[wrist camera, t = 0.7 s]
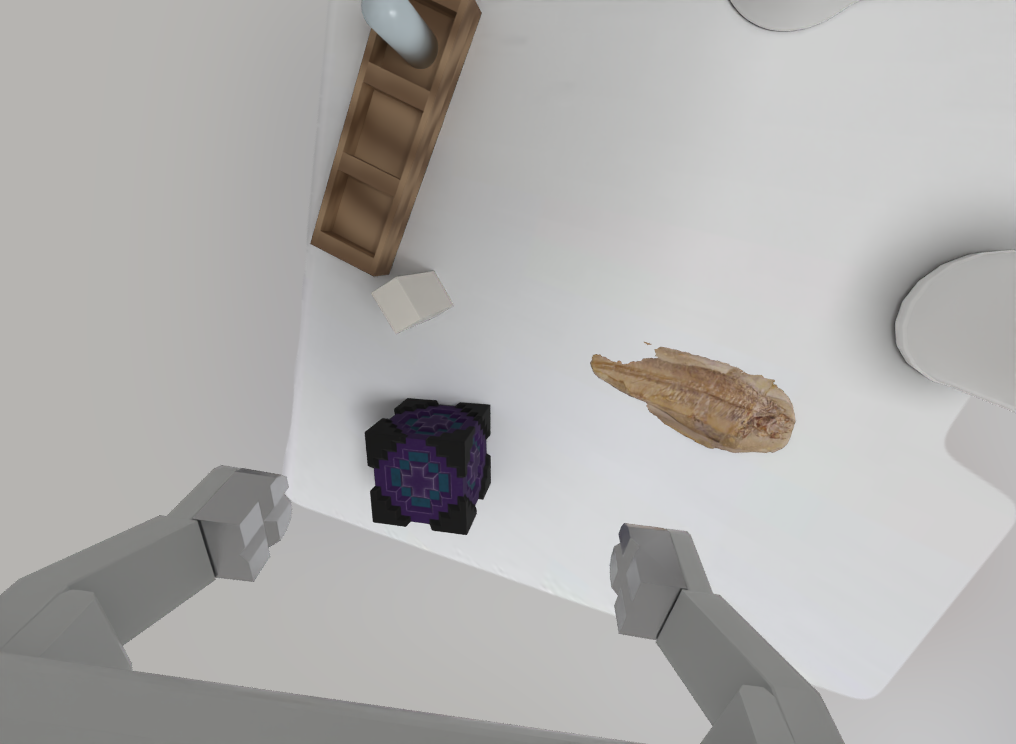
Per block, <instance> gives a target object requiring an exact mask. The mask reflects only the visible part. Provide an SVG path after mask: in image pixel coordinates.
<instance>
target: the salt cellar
mask: <svg viewBox="0 0 1016 744" xmlns="http://www.w3.org/2000/svg"><path fill="white" fill-rule="evenodd" d="M361 6H362V13H363V16H364V19H365V21H366V22H367V24H368V25H369V26H370V27H371V28H372V29H373V30H374V31H375V32H376V33H377V34H378V35H380V36H381V37H382V38H383V39H384V40H385V41H386V42H387V43H388V44H389V45H390V46H391V47H392V48H393V49H394V50H395V51H396V52H397V53H398V54H399V55H400V56H401V57H402V58H404V59H405V60H406V61H407V62H408V63H409V64H410V65H411V66H412V67H414V68H416V69H425V68H428V67H429V66H430V65H432V63H433V62H434V61H435V59H436V57H437V54H438V41H437V38H436V36H435V34H434V33H433V32H432V30H431V29H430V28H429V26H428V25H427V24H426V23H425V21H424V20H423V19H422V17H421V16H420V15H419V14H418V12H417V11H416V10H415V8H414V7H413V6H412V5H411V3H410V2H409V1H408V0H362V4H361Z"/></svg>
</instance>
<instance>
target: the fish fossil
mask: <svg viewBox="0 0 1016 744" xmlns="http://www.w3.org/2000/svg"><path fill="white" fill-rule="evenodd" d="M644 343H646V344H647V345H652V344H650V343H647V342H644ZM655 353H656V355H655V356H657V357H658V358H654V359H653V358H646V359H643V360H642V361H637V362H634V361H633V362H630V363H629V364H622V363H621V361H618V362H617V363H616V362H612V361H610V360H609V359H607V358H606V357H602V356H601V355H597V354H596V355H593V357H592V361H591V362H590V364H591V367H592V369H593V372H594V373H595V375H597V376H598V378H601V379H602V380H604V381H605V382H607V383H609V384H611V385H612V386H613V387H615V388H617V389H618V390H619V391H621V392H623V393H625V394H628V395H629V396H631V397H634V398H637V399H639V400H642V401H644V402H646V403H647V407H648V410H649V412H651V413H653V415H655V416H657V417H658V418H659V419H660V420H661V421H662V422H663V423H664V424H666V425H668V426H670V427H671V428H673V429H674V430H676V431H677V432H679V433H681V434H683V435H684V436H686V437H688V438H690V439H693V440H695V442H697V443H699V444H702V445H704V446H706V447H707V448H711V449H713V448H719V449H721V450H727V451H729V452H733V453H739V452H762V453H767V452H772V453H773V452H776V451H777V450H780V449H782V448H783V447H784V446H786V445H787V443H788V441H789V439H790V437H791V433H792V430H793V428H794V424H795V414H794V410H793V405H792V403H791V401H790V399H789V398H788V396H787V395H786V394H785V393H784V391H783V390H782V389H779V388H778V387H777V385H773V382H775V380H771V379H766V378H764V377H763V376H762V375H749V374H747V373H745V372H743V371H742V370H741V369H739V368H737V367H733V366H730V365H729V364H727V363H722V362H720V361H715V360H710V359H708V358H706V357H701V356H698V355H692V354H690V353H687V352H681V351H678V350H674V349H670V348H666V347H659V348H658V349H655ZM741 372H743V373H741Z"/></svg>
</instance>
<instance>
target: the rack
mask: <svg viewBox="0 0 1016 744" xmlns="http://www.w3.org/2000/svg"><path fill="white" fill-rule="evenodd" d="M408 1H409V2H410V3H411V5H412V6H413V7H414V8H415V10H416V11H417V12H418V14H419V15H420V16H421V17H422V19H423V20H424V21H425V23H426V24H427V25H428V26H429V28H430V29H431V30H432V32H433V33H434V34H435V36H436V38H437V41H438V54H437V57H436V59H435V61H434V62H433V63H432V65H430V66H429V67H428V68H425V69H416V68H414V67H412V66H411V65H410V64H409V63H408V62H407V61H406V60H405V59H404V58H402V57H401V56H400V55H399V54H398V53H397V52H396V51H395V50H394V49H393V48H392V47H391V46H390V45H389V44H388V43H387V42H386V41H385V40H384V39H383V38H382V37H381V36H380V35H378V34H377V33H376V32H375V31H374V30H373V29H372V28H371V31H370V35H369V38H368V42H367V45H366V49H365V52H364V56H363V59H362V63H361V66H360V70H359V73H358V77H357V81H356V84H355V88H354V91H353V95H352V98H351V102H350V105H349V109H348V112H347V116H346V119H345V123H344V127H343V130H342V134H341V137H340V141H339V144H338V148H337V151H336V155H335V158H334V162H333V165H332V169H331V172H330V176H329V180H328V183H327V187H326V190H325V194H324V197H323V201H322V204H321V208H320V211H319V215H318V218H317V222H316V226H315V229H314V233H313V236H312V240H311V243H310V244H312V245H314V246H316V247H318V248H319V249H321V250H323V251H325V252H327V253H329V254H331V255H333V256H335V257H337V258H339V259H341V260H343V261H345V262H347V263H349V264H351V265H353V266H355V267H357V268H358V269H360V270H362V271H364V272H366V273H368V274H370V275H372V276H381V275H389V273H390V270H391V267H392V264H393V262H394V259H395V256H396V253H397V250H398V247H399V245H400V242H401V239H402V236H403V233H404V231H405V228H406V225H407V222H408V219H409V216H410V214H411V211H412V208H413V205H414V202H415V200H416V197H417V194H418V191H419V188H420V185H421V183H422V180H423V177H424V174H425V171H426V169H427V166H428V163H429V160H430V157H431V154H432V152H433V149H434V146H435V143H436V140H437V138H438V135H439V132H440V129H441V126H442V124H443V121H444V118H445V115H446V112H447V109H448V107H449V104H450V101H451V98H452V95H453V93H454V90H455V87H456V84H457V81H458V78H459V76H460V73H461V70H462V67H463V64H464V62H465V59H466V56H467V53H468V50H469V47H470V45H471V42H472V39H473V36H474V33H475V31H476V28H477V25H478V22H479V19H480V16H481V14H482V13H481V11H480V9H479V7H478V5H477V3H476V1H475V0H408Z"/></svg>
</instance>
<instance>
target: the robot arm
mask: <svg viewBox="0 0 1016 744" xmlns="http://www.w3.org/2000/svg"><path fill="white" fill-rule="evenodd" d="M730 1H731V2H732V4H733V5H734V7H735V8H736V9H737V10H738V11H739V13H740V14H742V15H743V16H744V17H745V18H746V19H748V20H749V21H751V22H752V23H754V24H756V25H758V26H760V27H763V28H766V29H770V30H776V31H794V30H801V29H805V28H809V27H812V26H815V25H818V24H820V23H822V22H824V21H826V20H828V19H830V18H832V17H834V16H835V15H837V14H838V13H840V12H841V11H843V10H844V9H846V8H847V7H849V6H850V5H852V4H854V3H856V2H858V1H860V0H730ZM288 488H289V486H288V481H287V477H286V476H283V475H279V474H274V473H267V472H262V471H256V470H250V469H244V468H235V467H230V466H223V465H221V466H219V467H216V468H214V469H213V470H212V471H211V472H210V473H209V474H208V475H207V476H206V477H205V478H204V479H203V480H202V481H201V482H200V483H199V484H198V485H197V486H196V487H195V488H194V489H193V490H192V491H191V492H190V493H189V494H188V495H187V496H186V497H185V498H184V499H183V500H182V501H181V502H180V503H179V504H178V505H177V506H176V507H175V508H174V509H173V510H172V511H171V512H170V513H169V514H168V515H167V516H162V515H159V516H157V517H155V518H153V519H151V520H148V521H146V522H144V523H142V524H140V525H137V526H135V527H133V528H131V529H128V530H126V531H124V532H122V533H120V534H117V535H116V536H113V537H111V538H109V539H106V540H104V541H102V542H100V543H98V544H95V545H93V546H91V547H89V548H87V549H84V550H82V551H80V552H78V553H76V554H73V555H71V556H69V557H67V558H65V559H62V560H60V561H58V562H56V563H53V564H51V565H49V566H47V567H45V568H42V569H40V570H38V571H36V572H34V573H31V574H29V575H27V576H25V577H23V578H20V579H19V580H17V581H16V582H15V583H14V584H13V585H11V586H10V587H9V588H8V589H7V590H6V591H4V592H3V593H2V594H1V595H0V744H644V743H637V742H630V741H623V740H616V739H608V738H602V737H595V736H587V735H580V734H574V733H567V732H560V731H553V730H546V729H538V728H532V727H525V726H518V725H511V724H504V723H497V722H490V721H483V720H476V719H469V718H462V717H455V716H447V715H441V714H434V713H426V712H420V711H412V710H406V709H399V708H392V707H385V706H378V705H371V704H364V703H356V702H349V701H342V700H335V699H328V698H321V697H314V696H307V695H300V694H293V693H286V692H279V691H272V690H265V689H258V688H251V687H244V686H237V685H229V684H222V683H215V682H208V681H202V680H194V679H187V678H180V677H173V676H166V675H159V674H152V673H145V672H138V671H132V663H131V661H130V659H129V657H128V655H127V653H126V652H125V650H124V648H123V645H124V644H126V643H127V642H129V641H130V640H132V639H133V638H134V637H136V636H137V635H138V634H140V633H141V632H143V631H144V630H145V629H147V628H148V627H150V626H151V625H153V624H154V623H155V622H157V621H158V620H160V619H161V618H162V617H164V616H165V615H167V614H168V613H169V612H171V611H172V610H174V609H175V608H176V607H178V606H179V605H181V604H182V603H183V602H185V601H186V600H188V599H189V598H191V597H192V596H193V595H195V594H196V593H198V592H199V591H200V590H202V589H203V588H205V587H206V586H207V585H209V584H210V583H212V582H213V581H214V580H215V578H224V579H233V580H242V581H251V582H254V580H255V579H256V577H257V576H258V574H259V573H260V571H261V570H262V568H263V567H264V565H265V564H266V562H267V560H268V559H269V557H270V553H269V547H270V546H272V545H274V544H275V543H277V542H279V541H280V540H281V538H282V537H283V536H284V534H285V532H286V531H287V528H288V525H289V523H290V520H291V514H292V505H291V500H290V499H289V498H288V497H287V496H286V495H285V494H284V493H285V492H286V490H287V489H288ZM619 539H620V543H619V544H618V545H616V546H614V549H613V552H612V555H611V562H610V580H611V587H612V589H613V590H614V591H615V592H616V594H617V595H618V597H617V600H616V602H615V605H614V607H615V613H616V619H617V625H618V631H619V634H623V635H629V636H635V637H641V638H647V639H653V640H657V641H656V643H657V645H658V646H659V647H660V649H661V650H662V652H663V653H664V655H665V656H666V658H667V659H668V661H669V662H670V664H671V665H672V667H673V668H674V670H675V671H676V673H677V674H678V676H679V677H680V679H681V680H682V682H683V683H684V684H685V686H686V687H687V689H688V690H689V692H690V693H691V695H692V696H693V698H694V699H695V701H696V702H697V703H698V705H699V706H700V708H701V710H702V711H703V712H704V714H705V715H706V717H707V718H708V720H709V721H710V723H711V724H712V726H713V727H712V728H711V729H710V731H709V732H708V734H707V735H706V736H705V738H704V739H703V741H702V742H701V743H700V744H845V743H844V741H843V739H842V737H841V735H840V734H839V731H838V729H837V727H836V725H835V723H834V721H833V719H832V717H831V715H830V713H829V711H828V709H827V707H826V705H825V703H824V701H823V699H822V697H821V696H820V694H819V692H818V691H817V690H816V689H814V688H813V687H812V686H811V685H810V684H809V683H808V682H807V681H806V680H805V679H804V678H803V677H802V676H801V675H800V674H799V673H798V672H797V671H796V670H795V669H794V668H793V667H792V666H791V665H790V664H789V663H788V662H787V661H786V660H785V659H784V658H783V657H782V656H781V655H780V654H779V653H778V652H777V651H776V650H775V649H774V648H773V647H772V646H771V645H770V644H769V643H768V642H767V641H766V640H765V639H764V638H763V637H762V636H761V635H760V634H759V633H758V632H757V631H756V630H755V629H754V628H753V627H752V626H751V625H750V624H749V623H748V622H747V621H746V620H745V619H744V618H743V617H742V616H741V615H740V614H739V613H738V612H737V611H736V610H735V609H734V608H733V607H732V606H731V605H730V604H729V603H728V602H727V601H726V600H725V599H724V598H722V597H721V596H720V595H718V594H713V592H712V589H711V587H710V584H709V581H708V579H707V576H706V574H705V571H704V568H703V566H702V563H701V561H700V558H699V555H698V553H697V550H696V547H695V545H694V542H693V540H692V537H691V535H690V534H689V533H688V532H687V531H681V530H673V529H664V528H658V527H651V526H643V525H635V524H628V523H624V524H623V525H622V526H621V529H620V532H619Z"/></svg>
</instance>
